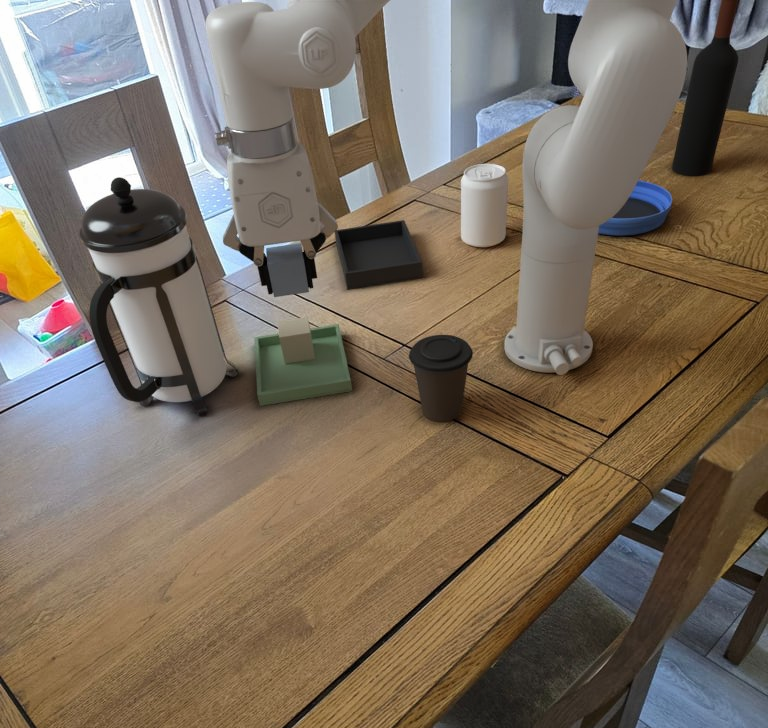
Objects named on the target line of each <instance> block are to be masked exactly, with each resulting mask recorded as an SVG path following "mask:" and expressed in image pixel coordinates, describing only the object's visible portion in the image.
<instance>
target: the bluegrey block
mask: <svg viewBox="0 0 768 728" xmlns="http://www.w3.org/2000/svg"><path fill="white" fill-rule="evenodd" d="M303 252H304V251H303V246H302V244H301V242H298V243H292V244H285V245H279V246H270V247H266V248H265V255H266V257H267V266H268V270H269V275H270V280H271V285H272V290H273V293H272V295H273V297H274V298H279V297H285V296H286V297H287V296H292V295H301V294H306V293H309V292H310V290H309V289H310V288H308V282H307V276H306V270H305V264H304V258H303Z"/></svg>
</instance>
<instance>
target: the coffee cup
mask: <svg viewBox="0 0 768 728" xmlns="http://www.w3.org/2000/svg"><path fill="white" fill-rule="evenodd" d="M473 354H474V351H473V349H472V347H471V345H470V344H469V343H468V342H467V341H466V340H465V339H463V338H461V337H459V336H456V335H451V334H434V335H429V336H427V337H426V336H425V337H424V338H421V339H419V340H418V341H417V342H415V344H413V346H412V348H410V350H409V353H408V359H409V362H410V364H412V365H413V370H414V374H415V378H416V379H415V380H416V385H417V390H418V396H419V400H420V407H421V411H422V414H423V416H424V417H425V418H426V419H428V420H429V421H432V422H435V423H436V422H437V423H446V422H452V421H454V420H455V419H457V418H458V417H459V416H460V415H462V414H461V413H462V411H463V404H464V399H465V390H466V382H467V375H468V370H469V369H468V368H469V364H470V362H471V360H472V359H473V357H474V355H473Z"/></svg>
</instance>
